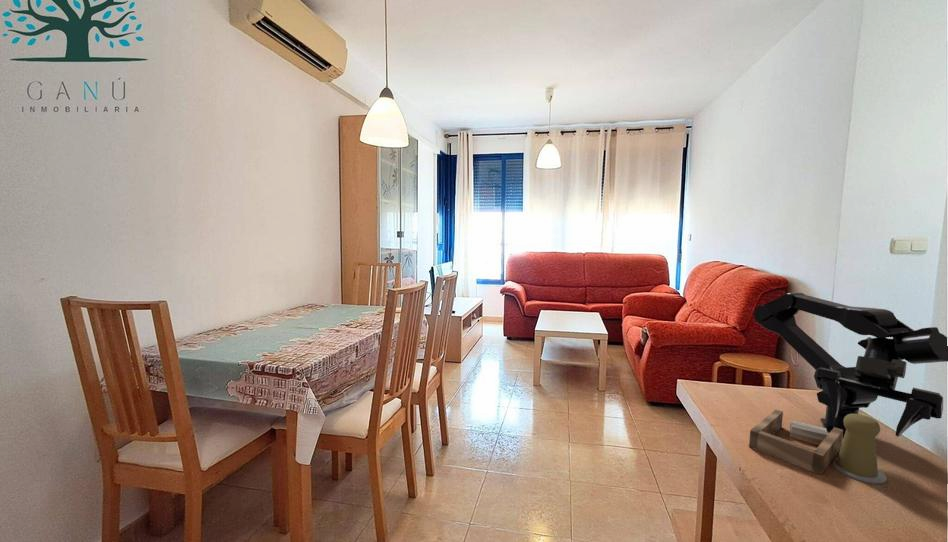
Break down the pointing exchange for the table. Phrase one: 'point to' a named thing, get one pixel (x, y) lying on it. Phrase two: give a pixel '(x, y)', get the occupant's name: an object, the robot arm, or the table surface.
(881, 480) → the slate pad
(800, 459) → the brown wooden rectangular frame
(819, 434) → the light grey rectangular block
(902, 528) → the table surface
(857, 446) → the olive knobbed peg
